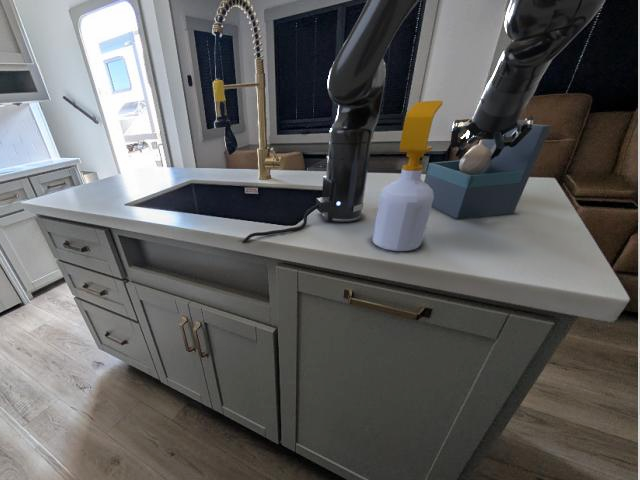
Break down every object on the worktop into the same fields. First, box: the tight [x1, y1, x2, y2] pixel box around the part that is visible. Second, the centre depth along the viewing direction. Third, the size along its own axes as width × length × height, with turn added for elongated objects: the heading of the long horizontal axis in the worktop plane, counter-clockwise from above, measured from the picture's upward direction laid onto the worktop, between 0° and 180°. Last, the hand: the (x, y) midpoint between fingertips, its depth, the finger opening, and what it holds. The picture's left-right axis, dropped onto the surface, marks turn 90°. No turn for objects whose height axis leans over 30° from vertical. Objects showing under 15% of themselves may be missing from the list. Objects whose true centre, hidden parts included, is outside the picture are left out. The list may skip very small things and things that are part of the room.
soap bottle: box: [372, 100, 443, 252], centre depth 57 cm, size 9×9×25 cm
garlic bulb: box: [459, 139, 493, 175], centre depth 72 cm, size 7×6×8 cm
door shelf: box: [423, 123, 552, 220], centre depth 73 cm, size 14×16×18 cm
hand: (475, 155), depth 73 cm, fingers closed on garlic bulb, 5 cm apart
